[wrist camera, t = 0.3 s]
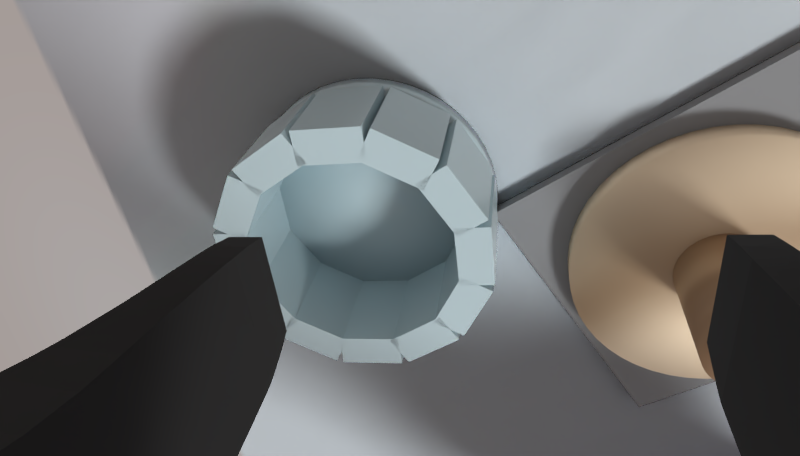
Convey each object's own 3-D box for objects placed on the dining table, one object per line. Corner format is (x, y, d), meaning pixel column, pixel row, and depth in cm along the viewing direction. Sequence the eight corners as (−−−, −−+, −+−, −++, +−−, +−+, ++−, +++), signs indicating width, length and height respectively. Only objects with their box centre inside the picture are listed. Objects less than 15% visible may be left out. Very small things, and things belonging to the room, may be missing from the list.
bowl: (544, 227, 20) (549, 299, 17) (361, 319, 24) (336, 394, 21) (398, 24, 18) (371, 66, 15) (215, 162, 21) (161, 220, 18)
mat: (939, 295, 20) (947, 302, 19) (637, 398, 24) (638, 407, 24) (822, 30, 16) (828, 33, 16) (493, 208, 20) (493, 214, 20)
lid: (923, 297, 19) (1015, 404, 16) (645, 393, 23) (668, 497, 20) (814, 61, 16) (898, 125, 13) (514, 218, 20) (514, 302, 16)
